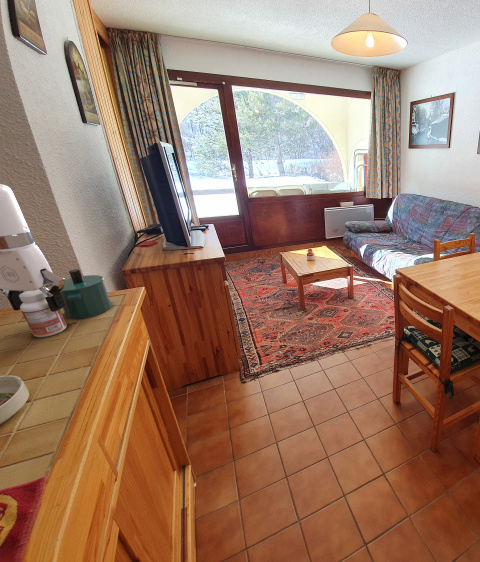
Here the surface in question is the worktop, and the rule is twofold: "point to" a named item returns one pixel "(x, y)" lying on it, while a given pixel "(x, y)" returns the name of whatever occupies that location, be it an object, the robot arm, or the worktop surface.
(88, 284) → the pot lid
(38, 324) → the pill bottle
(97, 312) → the pot
